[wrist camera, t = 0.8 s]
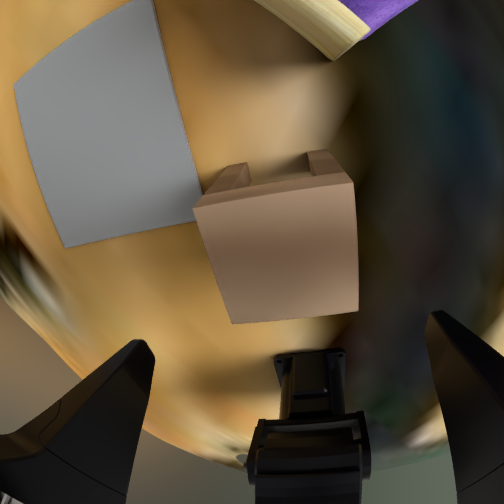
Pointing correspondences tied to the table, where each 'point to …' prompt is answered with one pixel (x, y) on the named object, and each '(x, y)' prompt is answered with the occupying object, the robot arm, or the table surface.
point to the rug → (109, 131)
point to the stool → (282, 242)
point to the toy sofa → (335, 20)
